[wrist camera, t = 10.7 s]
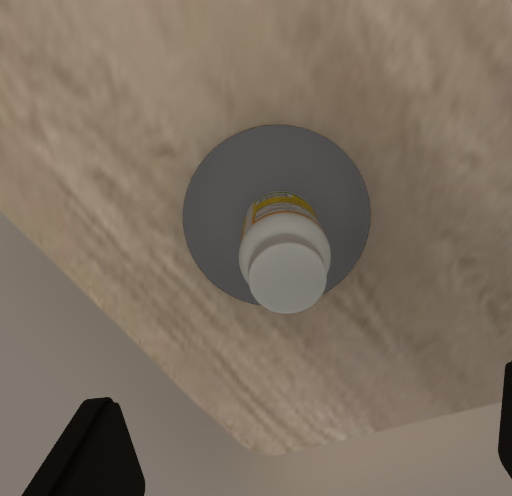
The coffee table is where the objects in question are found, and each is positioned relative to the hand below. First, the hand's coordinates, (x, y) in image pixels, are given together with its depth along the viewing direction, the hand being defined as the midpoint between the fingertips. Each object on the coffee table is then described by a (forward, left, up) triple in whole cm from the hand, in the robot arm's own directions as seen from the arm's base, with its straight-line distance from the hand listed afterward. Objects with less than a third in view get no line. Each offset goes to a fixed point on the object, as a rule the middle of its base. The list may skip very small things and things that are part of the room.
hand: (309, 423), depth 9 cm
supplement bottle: (0, 0, -20) cm, 20 cm away
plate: (0, 0, -21) cm, 21 cm away
